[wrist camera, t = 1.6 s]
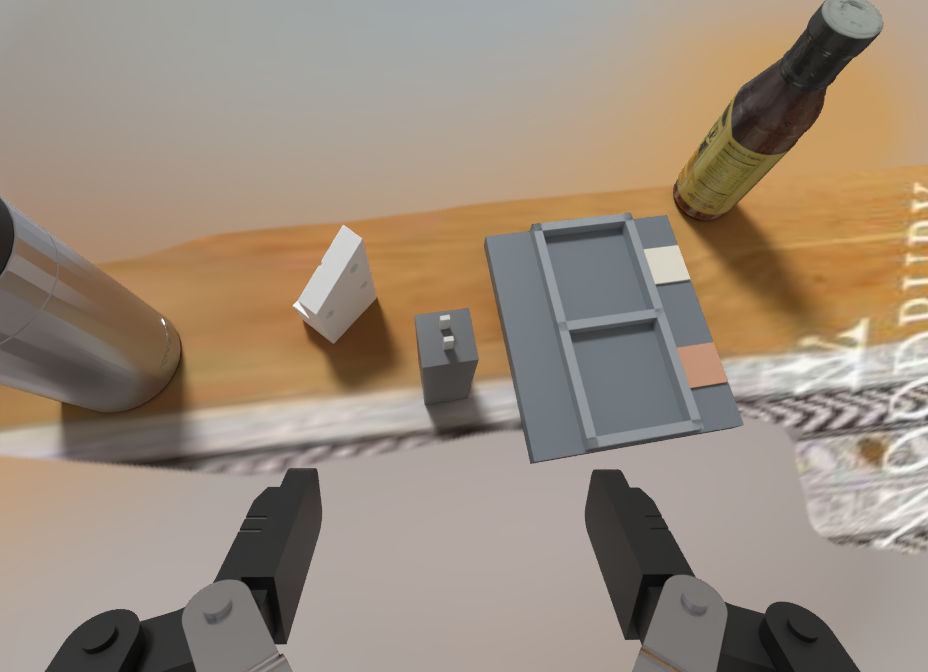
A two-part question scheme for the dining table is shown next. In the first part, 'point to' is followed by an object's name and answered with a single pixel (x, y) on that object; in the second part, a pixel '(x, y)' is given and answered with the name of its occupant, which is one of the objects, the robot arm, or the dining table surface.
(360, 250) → the white wedge bracket
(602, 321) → the grey tray
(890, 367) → the dining table surface
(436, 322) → the plug
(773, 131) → the sauce bottle
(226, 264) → the dining table surface
